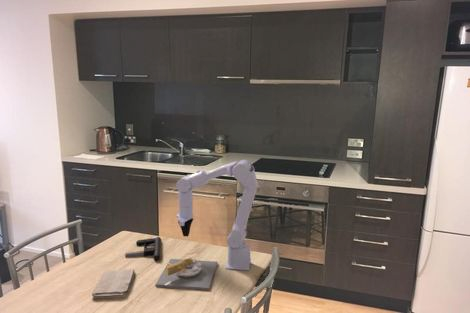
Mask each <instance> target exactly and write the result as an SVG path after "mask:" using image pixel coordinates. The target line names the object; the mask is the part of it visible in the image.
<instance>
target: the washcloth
mask: <svg viewBox="0 0 470 313" xmlns="http://www.w3.org/2000/svg"><path fill="white" fill-rule="evenodd" d="M134 275H135V268H128V269H127V268H125V269H119V270H116V269H112V270H111V269H109V270H104V271H103V273H102V275H101V277H100V279H99V280H98V283H97V284H96V286H95V287H94V289H93V291H92V294H91V295H92V300H94V299H96V300H111V299H113V300H115V299H125V298H126V296H127V295H128V292H129V290H130V287H131V285H132V282H133V279H134Z"/></svg>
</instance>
